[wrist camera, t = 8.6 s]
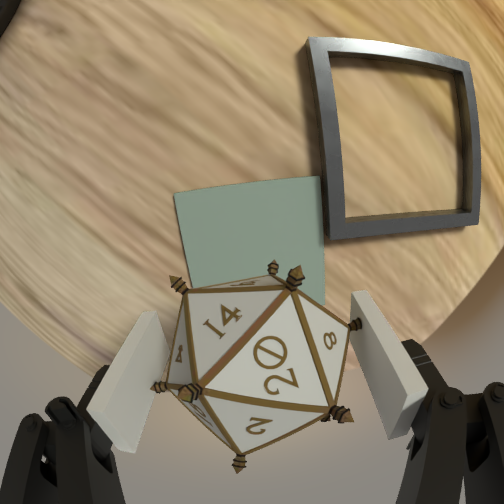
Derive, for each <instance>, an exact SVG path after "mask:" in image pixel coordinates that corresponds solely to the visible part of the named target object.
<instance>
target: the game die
mask: <svg viewBox="0 0 504 504" xmlns="http://www.w3.org/2000/svg"><path fill="white" fill-rule="evenodd" d="M267 266H268V269H267V271H268V273H269V274H268V275H263V276H257V277H252V278H247V279H242V280H236V281H231V282H225V283H220V284H215V285H209V286H203V287H198V288H192V289H188V288H187V286H186V284H185V283H186V282H183V280H182V277H180V278H179V277H175V276H170V275H169V276H170V281H171V285H172V286H171V288H172V287H173V288H174V289H175V290H176V292H177V291H178V292H179V293H181V294H182V295H183V296H182V301H181V306H180V311H179V315H178V320H177V325H176V330H175V335H174V340H173V346H172V351H171V356H170V362H169V368H168V373H167V379H166V382H162V381H160V382H155V383H154V385H153V386H152V387H151V388H150V390H152V391H155V392H156V393H160V392H165V390H167V389H168V390H169V391H170V392H171V393H172V394H173V395H174V396H175V397H176V398H177V399H178V400H179V401H180V402H181V403H182V404H183V405H184V406H185V407H186V408H187V409H188V410H189V411H190V412H191V413H192V414H193V415H194V416H195V417H196V418H197V419H198V420H199V421H200V422H201V423H202V424H203V425H204V426H205V427H206V428H208V429H209V430H210V431H211V432H212V433H213V434H214V435H215V436H216V437H218V438H219V439H220V440H221V441H222V442H223V443H224V444H226V445H227V446H228V447H229V448H230V449H231V450H233V451H234V452H235V453H236V455H237V456H236V458H235V459H233V461H234V463H233V464H232V466H233V467H234V469H235V471H236V473H239V472H240V471H241V470H242V469H243V468H245V467H246V466H245V462H247V461H245V455H247V454H250V453H252V452H254V451H257V450H259V449H261V448H264V447H266V446H268V445H271V444H273V443H275V442H277V441H280V440H281V439H284V438H286V437H288V436H290V435H292V434H294V433H296V432H298V431H300V430H302V429H304V428H306V427H308V426H310V425H312V424H314V423H315V422H317V421H319V420H321V422H326V421H330V414H331V415H332V416H333V420H338V423H344V422H354V420H353V418H352V416H351V413H350V409H349V408H348V409H345V408H344V406H342V407H339V406H336V405H337V400H338V396H339V392H340V387H341V381H342V377H343V372H344V366H345V361H346V355H347V349H348V343H349V336H350V332H351V331H354V330H355V331H358V329H361V330H362V322H361V319H360V318H359V317H357V319H356V320H354V319H353V320H352V322H351V323H350V324H347V323H345V322H344V321H343V320H341V319H340V318H338V317H337V316H336V315H334V314H333V313H331V312H330V311H329V310H327V309H326V308H324V307H323V306H322V305H320V304H319V303H317V302H316V301H315V300H313V299H312V298H310V297H309V296H308V295H306V294H305V293H303V292H302V291H301V290H299V289H298V288H297V287H298V286H300V285H302V280H304V279H305V276H304V275H303V272H302V268H301V264H300V265H299V266H297V267H295V268H294V269H290V271H289V273H288V277H287V279H286V281H285V280H283V279H281V278H280V277H278V276H276V274H277V273H278V269H279V264H277V262H276V261H275V259H274V260H273V261H272V262H271V263H270V264H268V265H267Z"/></svg>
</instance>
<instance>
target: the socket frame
mask: <svg viewBox="0 0 504 504" xmlns="http://www.w3.org/2000/svg"><path fill="white" fill-rule="evenodd" d="M305 46H306V52H307V57H308V63H309V69H310V75H311V81H312V88H313V95H314V102H315V109H316V117H317V126H318V134H319V144H320V153H321V164H322V176H323V189H324V204H325V223H326V235H327V236H328V238H329V239H330V240H338V239H347V238H356V237H365V236H375V235H384V234H394V233H403V232H413V231H422V230H432V229H441V228H451V227H460V226H470V225H478V223H479V212H480V196H481V147H480V132H479V121H478V112H477V104H476V97H475V91H474V85H473V79H472V74H471V70H470V65H469V62H467V61H464V60H460V59H457V58H454V57H450V56H447V55H443V54H440V53H436V52H432V51H428V50H423V49H419V48H414V47H409V46H404V45H398V44H392V43H386V42H379V41H371V40H361V39H350V38H334V37H308V39H307V41H306V43H305ZM329 57H347V58H362V59H373V60H383V61H391V62H398V63H404V64H410V65H416V66H422V67H427V68H431V69H436V70H440V71H445V72H449V73H453V74H454V79H455V85H456V91H457V97H458V104H459V112H460V121H461V132H462V148H463V202H462V209H451V210H436V211H422V212H408V213H395V214H383V215H371V216H360V217H349V218H345V199H344V181H343V166H342V154H341V143H340V133H339V124H338V116H337V108H336V100H335V93H334V87H333V80H332V74H331V68H330V63H329Z"/></svg>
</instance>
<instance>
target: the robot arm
mask: <svg viewBox="0 0 504 504" xmlns="http://www.w3.org/2000/svg"><path fill="white" fill-rule="evenodd" d="M19 2H20V0H0V36H1V34H2V33H3V31H4V30H5V28H6V26H7V25H8V23H9V21H10V20H11V18H12V16H13V14H14V12H15V11H16V9H17V7H18V5H19ZM357 317H359V318H360V319H361V322H362V330H361V329H358V331H355V330H354V331H351V332H350V336H349V339H350V342H351V344H352V346H353V349H354V351H355V354H356V356H357V358H358V361H359V363H360V366H361V368H362V371H363V373H364V376H365V378H366V381H367V383H368V386H369V388H370V391H371V393H372V396H373V399H374V401H375V404H376V407H377V409H378V412H379V414H380V417H381V420H382V423H383V425H384V428H385V431H386V434H387V437H388V440H390V439H393V438H397V437H400V436H403V435H406V434H407V433H408V431H409V429H410V427H412V429H413V432H414V435H413V437H412V439H411V441H410V442H409V444H408V446H407V448H406V449H409V448H410V451H409V456H408V460H407V464H406V468H405V473H404V477H403V480H402V484H401V487H400V491H399V494H398V497H397V501H396V504H459V499H460V493H461V487H462V480H463V477H464V486H465V496H466V504H504V384H503V383H500V382H493V383H491V384H489V385H488V386H487V387H486V388H485V390H484V391H483V393H479V394H469V395H464V394H463V393H462V392H461V391H460V390H458V389H456V388H452V387H448V385H447V384H446V382H445V381H444V379H443V378H442V376H441V375H440V373H439V371H438V370H437V368H436V367H435V366H434V364H433V362H431V359H430V358H429V356H428V355H427V353H426V352H425V350H424V349H423V348H422V346H421V345H420V344H418V343H417V342H415V341H414V340H413V339H410V340H406V341H402V342H400V340H399V339H398V337H397V335H396V334H395V332H394V331H393V329H392V328H391V326H390V325H389V323H388V321H387V320H386V318H385V317H384V315H383V314H382V312H381V311H380V309H379V308H378V306H377V305H376V303H375V302H374V300H373V299H372V298H371V296H370V295H369V293H368V292H367V290H362V291H355V292H352V293H351V312H350V323H351V322H352V320H353V319H354V320H356V319H357ZM169 356H170V350H169V347H168V344H167V341H166V339H165V336H164V333H163V330H162V327H161V324H160V321H159V318H158V315H157V312H156V311H145V312H142V314H141V315H140V317H139V319H138V320H137V322H136V323H135V325H134V327H133V328H132V330H131V332H130V333H129V335H128V336H127V338H126V340H125V341H124V343H123V345H122V346H121V348H120V350H119V352H118V353H117V355H116V357H115V358H114V360H113V362H112V364H111V365H104V366H103V367H102V368H101V369H100V370H99V371H97V373H96V374H95V376H94V378H93V380H92V382H91V383H90V385H89V386H88V387H89V388H87V390H86V391H85V393H84V395H83V397H82V398H81V400H80V402H79V404H78V406H77V407H76V406H75V405H74V404H73V402H72V401H71V400H70V399H69V398H67V397H57V398H55V399H53V400H52V401H50V402H49V403H48V405H47V406H46V408H45V412H46V414H47V415H48V416H49V417H50V419H51V420H52V421H47V422H46V421H44V420H43V419H42V418H41V417H40V416H39V414H36V413H33V414H29V415H27V416H25V417H24V418H23V419H22V421H21V423H20V426H19V428H18V431H17V434H16V437H15V440H14V443H13V446H12V449H11V452H10V455H9V459H8V462H7V466H6V469H5V473H4V477H3V480H2V485H1V489H0V504H126V503H125V500H124V496H123V492H122V488H121V484H120V481H119V476H118V471H117V467H116V462H115V457H114V454H113V452H112V451H111V446H112V444H114V445H115V446H116V447H117V448H118V449H119V450H121V451H125V452H131V453H135V452H136V449H137V446H138V443H139V440H140V436H141V434H142V431H143V428H144V425H145V422H146V419H147V416H148V413H149V411H150V408H151V405H152V402H153V399H154V396H155V394H156V392H155V391H152V390H150V388H151V387H152V386H153V385H154V383H155V382H160V380H161V377H162V375H163V372H164V369H165V367H166V364H167V361H168V359H169ZM42 455H43V456H44V457H45V458H46V461H45V463H44V462H42V461H41V459H42Z"/></svg>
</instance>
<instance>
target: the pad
mask: <svg viewBox="0 0 504 504" xmlns="http://www.w3.org/2000/svg"><path fill="white" fill-rule="evenodd" d="M174 198H175V204H176V209H177V215H178V220H179V225H180V230H181V235H182V240H183V245H184V250H185V254H186V259H187V263H188V268H189V272H190V277H191V281H192V285H193V288H198V287H203V286H209V285H215V284H220V283H225V282H231V281H236V280H242V279H247V278H252V277H257V276H263V275H268V274H269V273H268V271H267V269H268V266H267V265H268V264H270V263H271V262H272V261H273V260H274V259H275V261H276V262H277V264H279V269H278V273H277V274H276V276H278V277H280V278H281V279H283V280H285V281H286V279H287V277H288V273H289V271H290V269H294V268H295V267H297V266H299V265H300V264H301V268H302V272H303V275H304V276H305V279H304V280H302V285H300V286H298V287H297V288H298V289H299V290H301V291H302V292H303V293H305V294H306V295H308V296H309V297H310V298H312V299H313V300H315V301H316V302H317V303H319V304H320V305H325V268H324V236H323V216H322V199H321V185H320V176H307V177H295V178H284V179H274V180H265V181H256V182H248V183H240V184H232V185H225V186H217V187H210V188H204V189H197V190H191V191H184V192H178V193H174Z"/></svg>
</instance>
